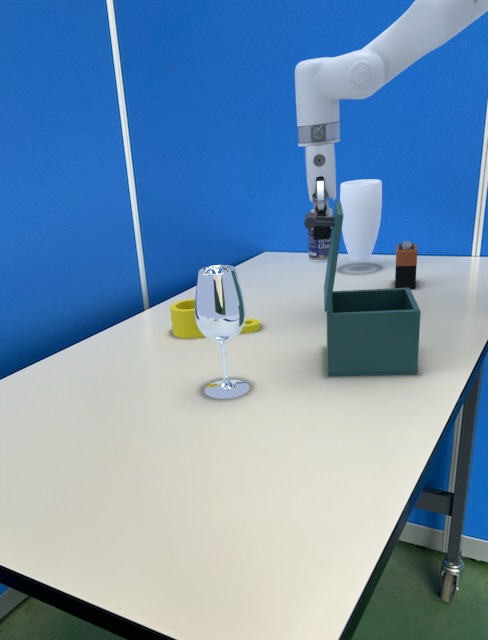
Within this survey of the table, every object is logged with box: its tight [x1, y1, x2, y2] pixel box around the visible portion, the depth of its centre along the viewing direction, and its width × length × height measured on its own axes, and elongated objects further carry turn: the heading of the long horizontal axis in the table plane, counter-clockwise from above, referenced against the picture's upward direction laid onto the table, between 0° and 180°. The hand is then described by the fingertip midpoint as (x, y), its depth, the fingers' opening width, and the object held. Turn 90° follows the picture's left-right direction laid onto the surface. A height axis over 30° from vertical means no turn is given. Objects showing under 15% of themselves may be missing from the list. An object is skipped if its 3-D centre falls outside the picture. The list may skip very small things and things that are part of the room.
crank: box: [169, 298, 261, 339], centre depth 127 cm, size 18×8×6 cm, turn 81°
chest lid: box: [303, 200, 343, 313], centre depth 99 cm, size 15×13×5 cm
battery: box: [394, 240, 418, 290], centre depth 140 cm, size 4×7×10 cm, turn 163°
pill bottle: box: [307, 207, 333, 264], centre depth 121 cm, size 5×5×10 cm
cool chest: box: [326, 287, 422, 378], centre depth 103 cm, size 14×13×11 cm
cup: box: [339, 178, 383, 262], centre depth 155 cm, size 10×10×22 cm
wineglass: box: [194, 264, 250, 400], centre depth 97 cm, size 8×8×20 cm
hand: (322, 234), depth 121 cm, fingers closed on pill bottle, 5 cm apart
